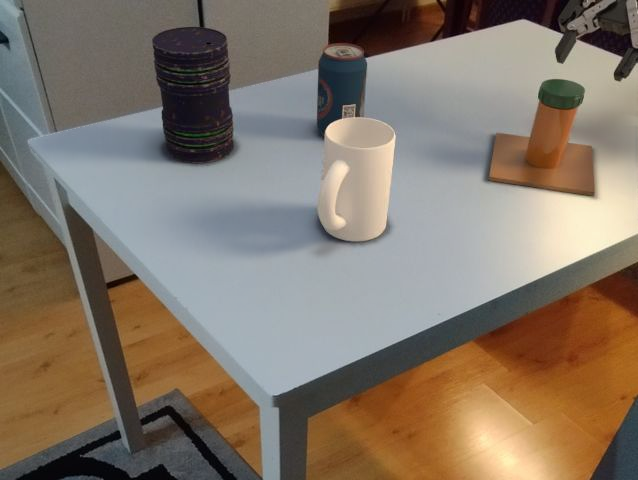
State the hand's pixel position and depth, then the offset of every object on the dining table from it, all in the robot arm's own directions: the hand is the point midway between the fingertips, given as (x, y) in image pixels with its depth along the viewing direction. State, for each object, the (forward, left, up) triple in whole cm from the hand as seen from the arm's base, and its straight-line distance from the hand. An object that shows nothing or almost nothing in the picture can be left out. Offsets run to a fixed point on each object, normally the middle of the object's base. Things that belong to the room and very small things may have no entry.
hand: (587, 69), depth 92 cm
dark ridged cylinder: (+51, +15, -12) cm, 55 cm away
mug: (+26, +30, -12) cm, 41 cm away
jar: (+3, +5, -11) cm, 13 cm away
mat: (+3, +5, -12) cm, 13 cm away
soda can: (+33, +4, -12) cm, 35 cm away
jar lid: (+3, +5, -1) cm, 6 cm away
